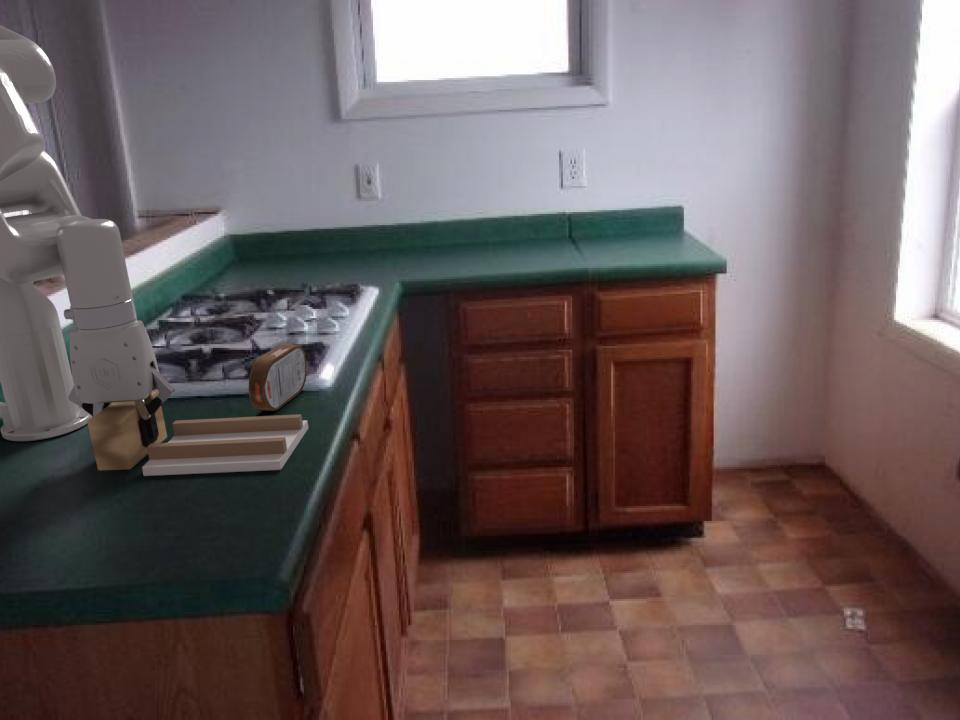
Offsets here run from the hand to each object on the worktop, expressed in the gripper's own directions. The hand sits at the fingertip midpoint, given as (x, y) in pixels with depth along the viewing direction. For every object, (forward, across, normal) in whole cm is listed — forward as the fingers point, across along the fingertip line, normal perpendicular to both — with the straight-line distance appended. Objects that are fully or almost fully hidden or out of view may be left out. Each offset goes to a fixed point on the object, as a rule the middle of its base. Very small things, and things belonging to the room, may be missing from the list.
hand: (132, 443), depth 118 cm
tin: (+2, +16, +18) cm, 24 cm away
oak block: (+1, 0, 0) cm, 1 cm away
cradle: (+1, +14, -1) cm, 14 cm away
